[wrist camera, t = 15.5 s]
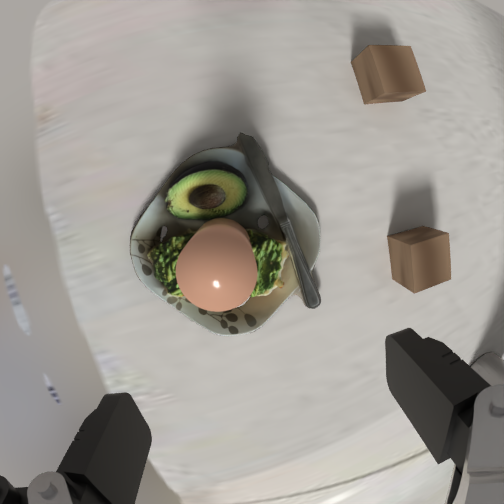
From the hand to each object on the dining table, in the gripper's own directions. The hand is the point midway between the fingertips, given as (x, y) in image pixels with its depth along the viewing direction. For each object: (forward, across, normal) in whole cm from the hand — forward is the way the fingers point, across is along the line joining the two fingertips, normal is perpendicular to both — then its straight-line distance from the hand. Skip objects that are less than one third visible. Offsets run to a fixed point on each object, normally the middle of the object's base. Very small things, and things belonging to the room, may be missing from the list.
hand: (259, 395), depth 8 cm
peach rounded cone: (+19, +2, -1) cm, 19 cm away
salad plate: (+23, +2, -1) cm, 23 cm away
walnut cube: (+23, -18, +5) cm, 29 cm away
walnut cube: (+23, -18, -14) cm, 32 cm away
